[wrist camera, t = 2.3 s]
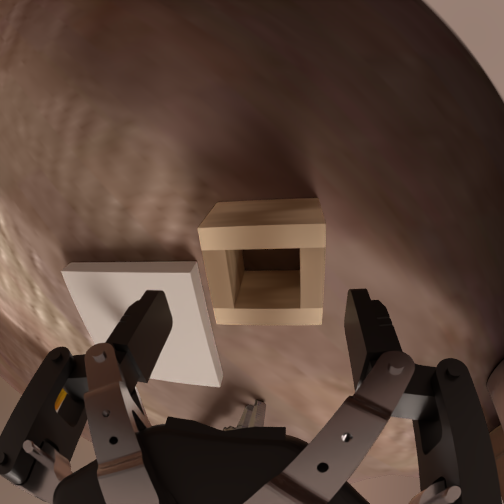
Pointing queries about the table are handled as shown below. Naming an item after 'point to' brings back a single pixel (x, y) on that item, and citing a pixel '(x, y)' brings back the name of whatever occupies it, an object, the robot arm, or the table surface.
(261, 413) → the caliper
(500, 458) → the binoculars
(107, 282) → the peg base plate
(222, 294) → the hollow block
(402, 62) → the table surface
